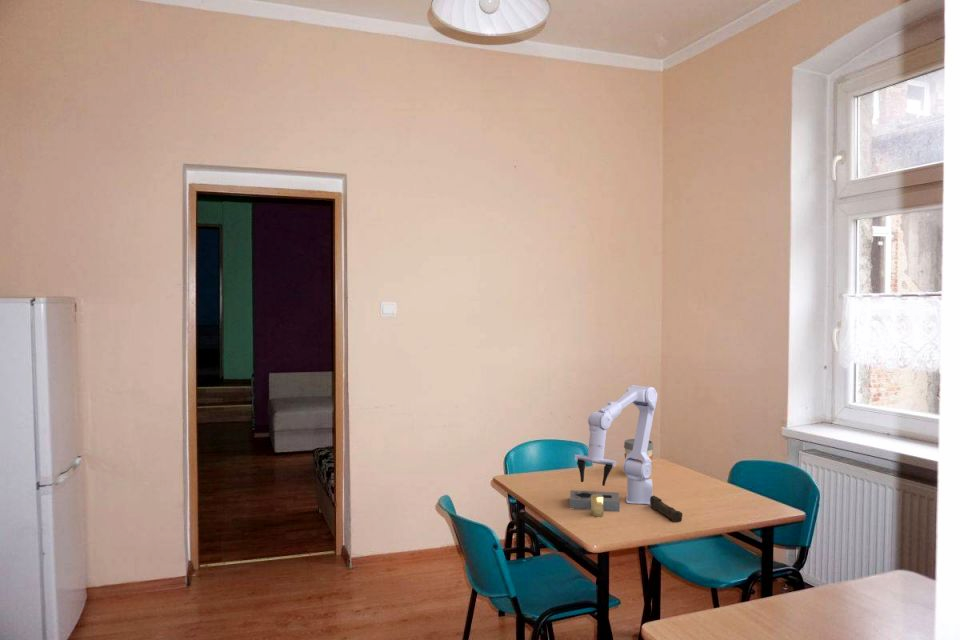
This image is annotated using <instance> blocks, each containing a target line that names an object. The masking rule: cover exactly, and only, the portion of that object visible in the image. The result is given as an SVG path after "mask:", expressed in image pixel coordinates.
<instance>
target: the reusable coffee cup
mask: <svg viewBox="0 0 960 640" xmlns="http://www.w3.org/2000/svg"><path fill="white" fill-rule="evenodd" d="M634 440H635V438H629V439H625V440H624V445H623V448H624V452H625V453H624V460H625V459H626V455H627V454H629V453H630V452H632V450H633V445H634ZM653 444H654V442H653V441H652V440H649V443H648V448H647V455H648V457H649V458H650V459H651V460H652V462H651V464H652V463H653V450H654V445H653ZM636 460H637V461H641V460H639V459H636ZM641 462H642V461H641Z"/></svg>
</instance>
